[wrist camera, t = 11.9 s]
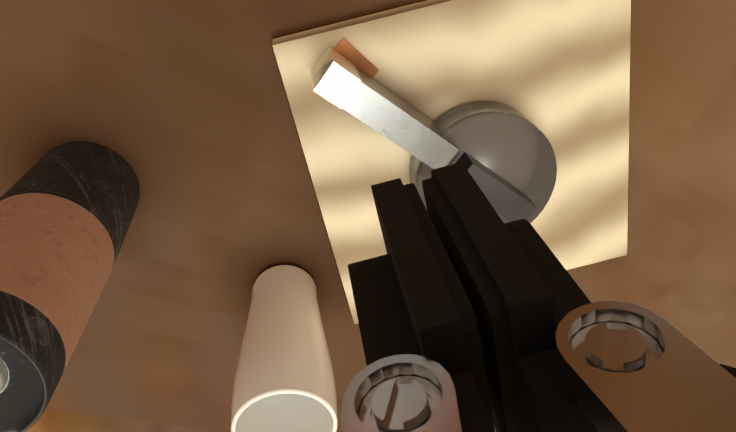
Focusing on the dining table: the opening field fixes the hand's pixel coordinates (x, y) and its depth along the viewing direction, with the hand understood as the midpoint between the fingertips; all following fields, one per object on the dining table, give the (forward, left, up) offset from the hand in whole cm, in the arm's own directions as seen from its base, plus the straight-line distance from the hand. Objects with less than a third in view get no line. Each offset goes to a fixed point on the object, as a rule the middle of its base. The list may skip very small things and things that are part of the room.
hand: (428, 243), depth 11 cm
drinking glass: (+22, -9, -32) cm, 40 cm away
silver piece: (+11, +5, -29) cm, 32 cm away
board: (+14, +8, -32) cm, 36 cm away
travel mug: (+9, -20, -32) cm, 39 cm away
